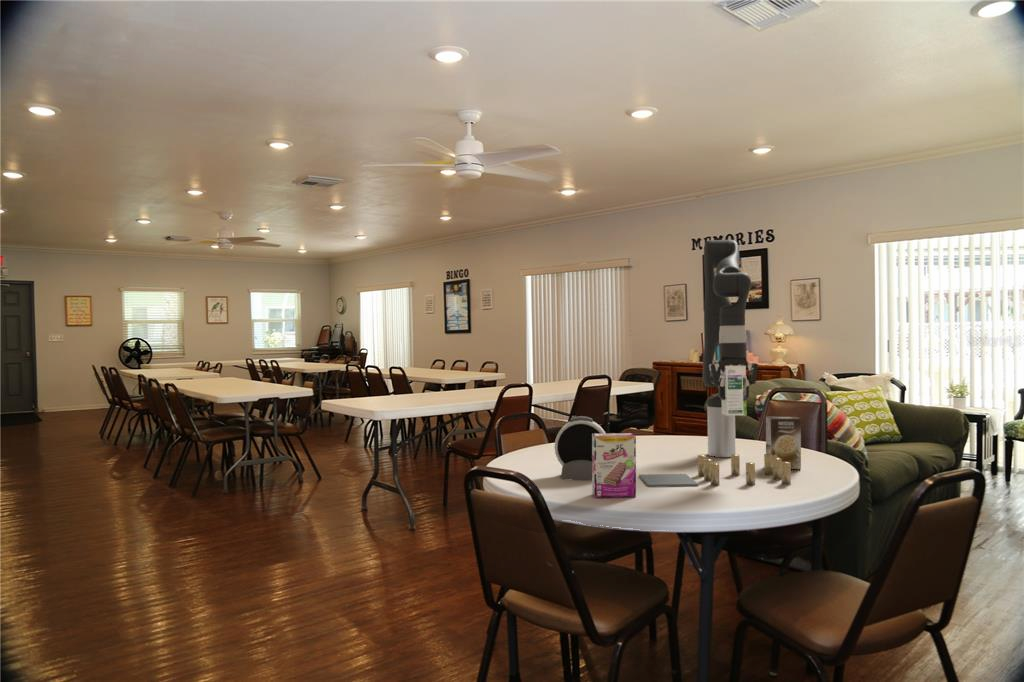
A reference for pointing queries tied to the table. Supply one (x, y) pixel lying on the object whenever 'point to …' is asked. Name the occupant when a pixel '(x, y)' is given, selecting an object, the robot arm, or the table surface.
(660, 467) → the table surface
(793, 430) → the coffee box
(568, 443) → the alarm clock
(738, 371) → the syrup box
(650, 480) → the mat
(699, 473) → the spacer field
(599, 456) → the candy bar box
